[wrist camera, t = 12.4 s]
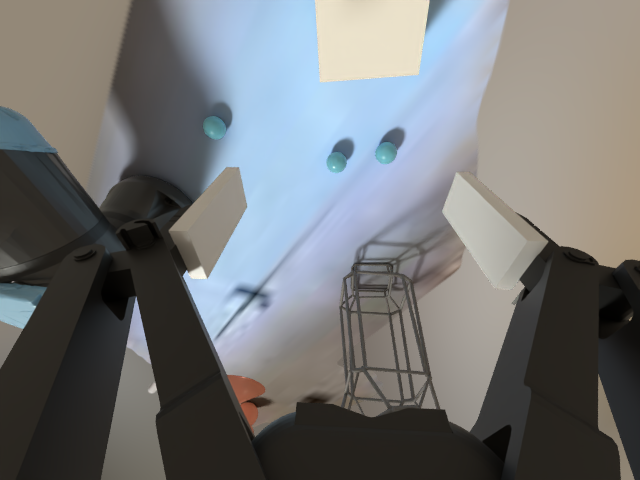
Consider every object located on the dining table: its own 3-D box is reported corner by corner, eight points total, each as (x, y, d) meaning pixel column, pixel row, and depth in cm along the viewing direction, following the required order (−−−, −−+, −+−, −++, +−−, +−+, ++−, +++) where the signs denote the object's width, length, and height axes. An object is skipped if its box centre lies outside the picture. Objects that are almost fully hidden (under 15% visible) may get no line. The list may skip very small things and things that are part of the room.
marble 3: (377, 148, 32) (370, 143, 35) (380, 169, 34) (374, 163, 37) (399, 141, 32) (391, 136, 35) (401, 162, 34) (393, 156, 36)
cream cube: (324, 74, 30) (320, 82, 23) (319, -34, 24) (311, -68, 17) (399, 68, 29) (418, 74, 22) (411, -45, 23) (442, -86, 16)
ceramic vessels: (205, 373, 90) (179, 435, 76) (260, 376, 89) (245, 441, 74) (228, 406, 112) (212, 460, 97) (273, 409, 111) (263, 464, 96)
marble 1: (231, 132, 34) (226, 142, 36) (223, 111, 33) (219, 122, 36) (208, 133, 32) (205, 144, 34) (201, 111, 32) (198, 123, 34)
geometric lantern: (415, 252, 47) (518, 530, 20) (399, 302, 57) (453, 535, 30) (335, 249, 48) (329, 511, 21) (332, 298, 58) (326, 522, 31)
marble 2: (328, 158, 34) (348, 164, 34) (330, 145, 35) (350, 150, 36) (323, 174, 36) (342, 179, 36) (325, 160, 38) (343, 166, 38)
